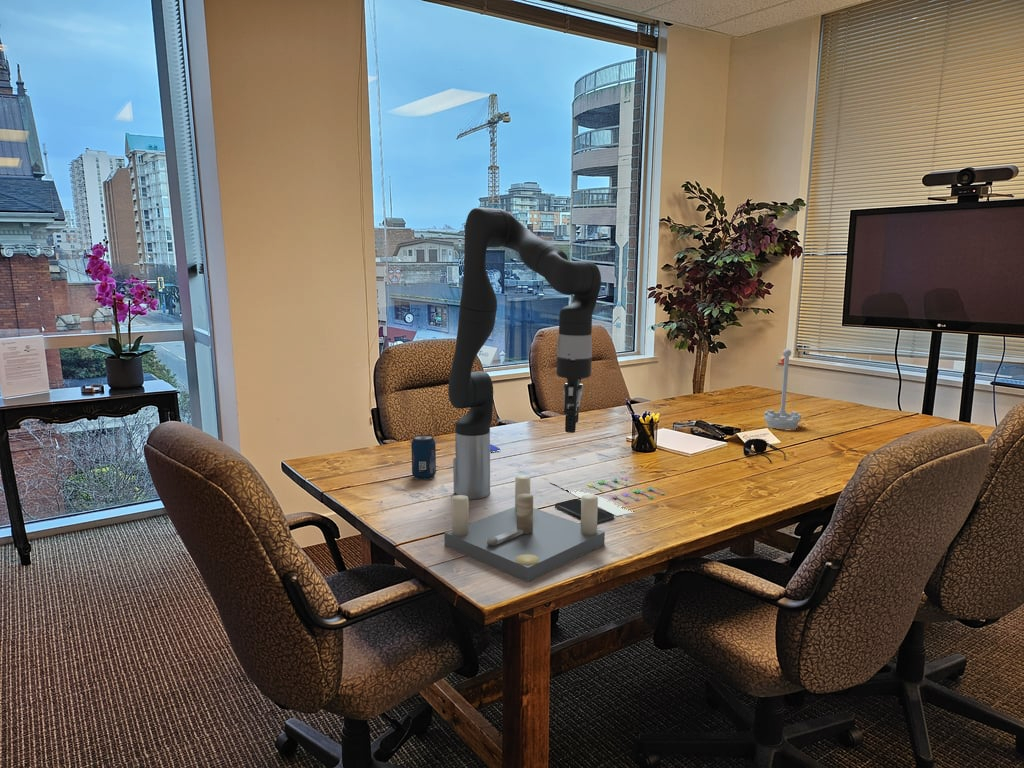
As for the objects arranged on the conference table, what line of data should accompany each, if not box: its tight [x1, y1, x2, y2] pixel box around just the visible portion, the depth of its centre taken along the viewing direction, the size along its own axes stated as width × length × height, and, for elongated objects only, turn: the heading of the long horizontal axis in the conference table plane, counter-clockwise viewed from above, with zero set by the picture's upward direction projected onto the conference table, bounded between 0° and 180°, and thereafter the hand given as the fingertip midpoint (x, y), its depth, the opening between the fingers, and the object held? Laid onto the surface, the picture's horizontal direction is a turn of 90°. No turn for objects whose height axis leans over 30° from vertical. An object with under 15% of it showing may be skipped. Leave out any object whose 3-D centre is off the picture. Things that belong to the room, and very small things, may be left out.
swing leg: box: [487, 493, 534, 546], centre depth 145 cm, size 13×4×8 cm, turn 136°
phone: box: [554, 498, 615, 525], centre depth 169 cm, size 8×1×15 cm
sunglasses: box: [743, 438, 787, 463], centre depth 218 cm, size 11×12×5 cm
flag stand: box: [763, 348, 802, 430], centre depth 256 cm, size 13×13×30 cm
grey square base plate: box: [443, 474, 606, 583], centre depth 148 cm, size 25×25×11 cm
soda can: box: [410, 434, 437, 481], centre depth 196 cm, size 7×7×12 cm
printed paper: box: [564, 477, 665, 517], centre depth 187 cm, size 30×30×2 cm
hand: (571, 427), depth 149 cm, fingers open, 8 cm apart
